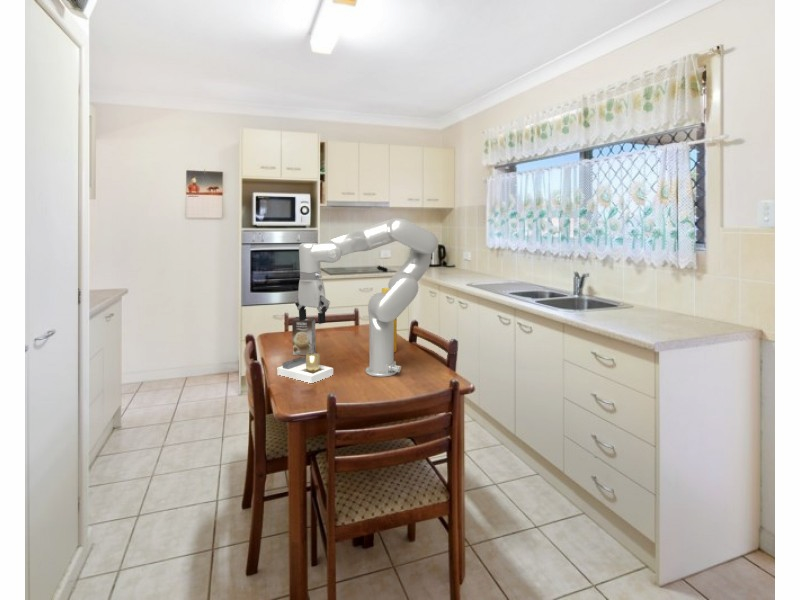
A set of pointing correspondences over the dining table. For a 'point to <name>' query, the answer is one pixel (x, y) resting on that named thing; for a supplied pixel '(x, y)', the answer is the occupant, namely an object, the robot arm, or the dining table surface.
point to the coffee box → (303, 336)
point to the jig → (303, 371)
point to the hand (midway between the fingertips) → (312, 321)
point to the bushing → (312, 363)
